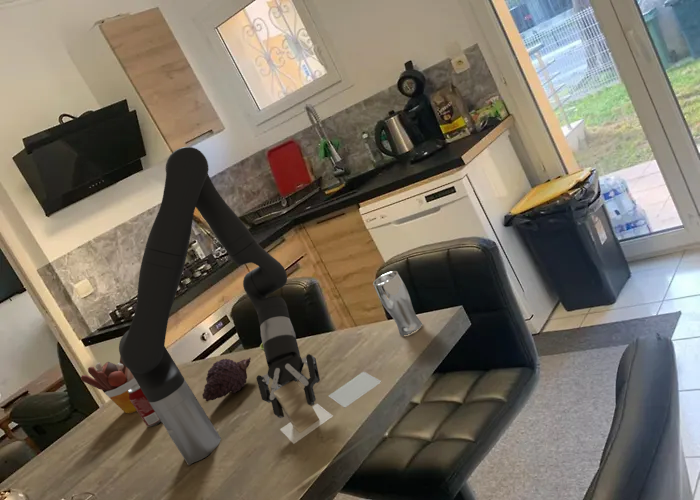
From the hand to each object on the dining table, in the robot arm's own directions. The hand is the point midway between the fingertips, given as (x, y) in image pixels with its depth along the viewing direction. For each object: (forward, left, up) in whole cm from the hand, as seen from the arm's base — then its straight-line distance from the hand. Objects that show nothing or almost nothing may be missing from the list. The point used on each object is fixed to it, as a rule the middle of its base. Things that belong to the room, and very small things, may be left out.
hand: (295, 410), depth 141 cm
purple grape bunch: (-6, +44, -5) cm, 45 cm away
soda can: (-27, +60, -5) cm, 66 cm away
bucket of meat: (-30, +84, -5) cm, 90 cm away
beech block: (+1, +1, -4) cm, 5 cm away
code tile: (+1, +1, -5) cm, 5 cm away
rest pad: (+14, +1, -5) cm, 15 cm away
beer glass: (+36, +11, -5) cm, 38 cm away
